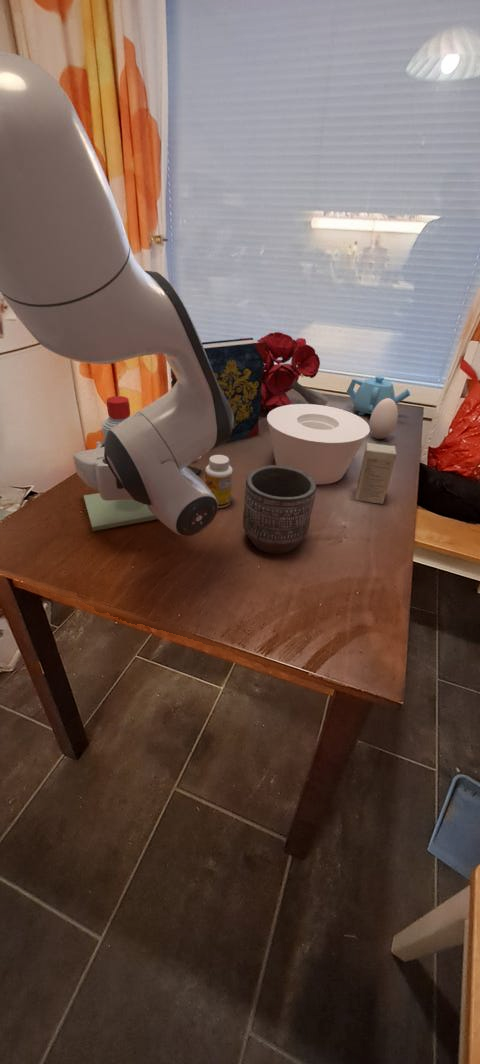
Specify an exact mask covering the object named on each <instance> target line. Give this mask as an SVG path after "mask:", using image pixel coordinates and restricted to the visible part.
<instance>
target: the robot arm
mask: <svg viewBox="0 0 480 1064" xmlns="http://www.w3.org/2000/svg"><path fill="white" fill-rule="evenodd" d="M124 225H125V224H124V222H123V219H122V216H121V213H120V211H119V208H118V205H117V203H116V200H115V197H114V194H113V192H112V188H111V186H110V184H109V181H108V179H107V176H106V174H105V172H104V169H103V167H102V164H101V161H100V159H99V157H98V156H97V153H96V151H95V149H94V146H93V144H92V142H91V140H90V137H89V135H88V133H87V131H86V129H85V126H84V125H83V123H82V121H81V119H80V117H79V115H78V113H77V111H76V109H75V106H74V104H73V102H72V100H71V99H70V97H69V95H68V94H67V92H66V91H65V90H64V89H63V87H62V85H60V83H59V81H57V80H56V79H55V77H53V75H52V74H50V72H49V71H47V70H46V69H45V68H43V67H42V66H41V65H39V64H38V63H36V62H34V61H32V60H31V59H29V58H27V57H24V56H21V55H19V54H17V53H13V52H9V51H5V50H4V51H3V50H0V294H1V296H2V297H3V299H4V300H5V302H6V304H7V305H8V306H9V307H10V309H11V310H12V311H13V313H14V314H15V316H16V317H17V318H18V320H19V321H20V322H21V324H23V326H24V328H26V330H27V331H28V332H29V333H30V334H31V336H32V337H33V338H34V339H35V340H36V342H37V343H38V344H40V345H41V346H42V347H43V348H45V349H47V351H50V352H51V353H54V354H56V355H58V356H59V357H62V358H64V359H67V360H70V361H74V362H78V363H83V364H93V365H109V364H117V363H119V362H123V361H127V360H131V359H135V358H138V357H139V358H140V357H144V356H152V355H163V356H164V358H165V361H166V362H167V364H168V365H169V367H170V370H171V369H172V371H173V373H174V375H175V376H176V378H177V382H176V384H175V385H174V386H173V388H171V389H169V390H168V391H167V392H166V393H165V394H163V395H162V396H160V397H158V398H157V399H155V400H154V401H152V402H151V403H148V404H147V405H146V406H144V407H143V408H141V409H140V410H138V411H136V412H134V413H132V414H130V416H129V417H128V418H126V419H125V420H123V421H122V422H120V423H119V424H117V425H116V426H114V427H113V428H112V429H110V430H108V432H107V435H106V439H105V441H104V439H103V440H98V441H96V442H95V446H96V447H95V448H92V449H86V450H81V451H77V452H75V453H74V455H72V456H73V466H74V468H75V472H76V474H77V476H78V477H79V478H80V480H81V481H82V482H83V483H84V484H85V485H86V487H89V488H90V489H92V490H93V491H98V493H100V496H101V498H102V499H103V500H106V501H110V500H127V499H129V500H135V501H137V502H140V503H142V504H145V505H147V507H148V509H149V510H150V511H151V512H152V513H153V514H154V515H155V517H156V518H157V519H156V520H158V521H160V523H162V524H163V525H164V526H165V527H167V528H168V529H169V530H170V531H172V532H173V533H175V534H176V535H179V536H182V537H191V536H194V535H196V534H199V532H201V531H203V530H204V529H205V528H206V527H208V526H209V525H210V524H211V523H212V522H213V520H214V519H215V517H216V515H217V513H218V510H219V508H218V501H217V499H216V497H215V496H214V494H213V493H212V492H211V490H210V489H209V488H208V487H207V485H206V484H205V481H203V479H201V478H200V476H199V475H196V474H195V473H194V472H193V471H192V470H190V469H189V468H188V467H186V466H192V465H193V464H196V463H198V462H199V460H201V459H202V457H203V456H204V455H205V454H207V453H208V452H211V451H213V450H214V449H216V448H218V447H220V446H222V445H223V444H226V443H225V442H227V441H228V440H229V438H230V435H231V432H232V428H233V423H234V414H233V411H232V409H231V407H230V405H229V403H228V401H227V399H226V397H225V395H224V393H223V392H222V390H221V388H220V386H219V384H218V382H217V379H216V377H215V375H214V372H213V370H212V367H211V365H210V362H209V360H208V357H207V355H206V352H205V350H204V347H203V344H202V339H201V337H200V334H199V332H198V330H197V328H196V326H195V324H194V321H193V319H192V317H191V315H190V312H189V311H188V308H187V306H186V304H185V302H184V300H183V299H182V297H181V296H180V294H179V293H178V292H177V290H176V289H175V287H174V286H173V285H172V284H171V283H170V281H168V280H167V279H166V278H165V277H164V276H163V275H162V274H160V272H158V271H152V270H144V269H143V267H141V265H140V264H139V262H138V260H137V259H136V257H135V254H134V251H133V250H132V247H131V244H130V242H129V238H128V235H127V232H126V229H125V226H124ZM227 443H228V442H227Z"/></svg>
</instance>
